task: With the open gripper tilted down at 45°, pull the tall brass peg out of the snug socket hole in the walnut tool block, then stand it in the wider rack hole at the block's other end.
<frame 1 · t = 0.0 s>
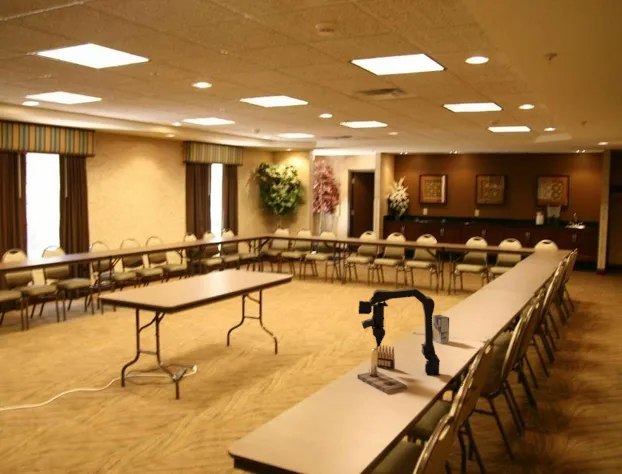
hand: (377, 344, 290), 15 cm above the table, tool pointing down, fingers open, 9 cm apart
ammunition clip: (384, 367, 299), on the table
brass peg: (373, 379, 279), resting in tool block
tool block: (381, 383, 273), on the table
coffee box: (440, 342, 350), on the table
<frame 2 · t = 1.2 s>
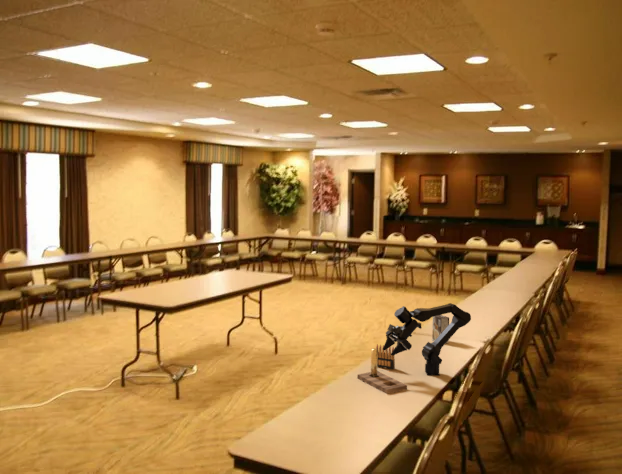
hand: (387, 352, 280), 13 cm above the table, tool tilted 45°, fingers open, 9 cm apart
nothing on the table moved.
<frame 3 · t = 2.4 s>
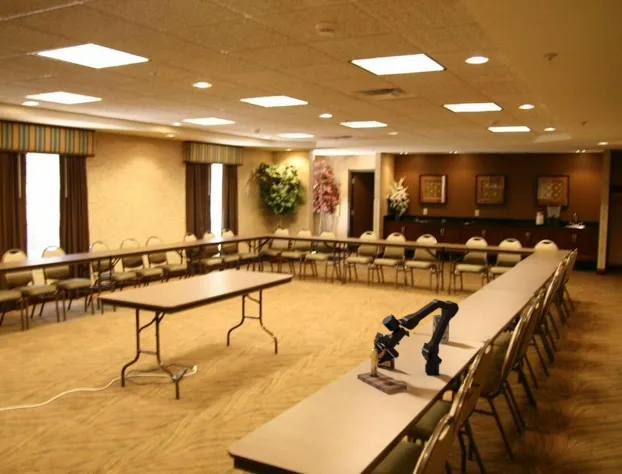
hand: (374, 360, 278), 10 cm above the table, tool tilted 45°, fingers open, 9 cm apart
nothing on the table moved.
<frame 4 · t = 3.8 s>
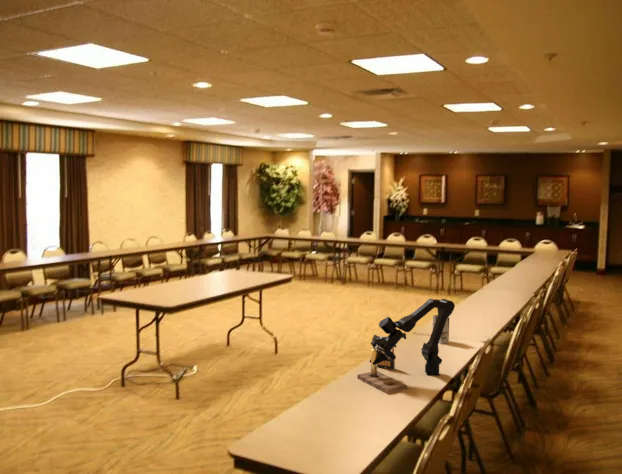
hand: (371, 363, 278), 9 cm above the table, tool tilted 45°, fingers closed on brass peg, 3 cm apart
brass peg: (373, 379, 279), resting in tool block, touching gripper
everything else where it was.
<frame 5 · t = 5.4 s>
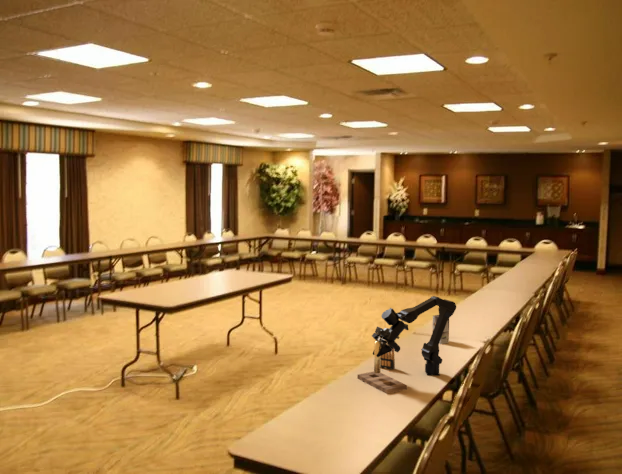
hand: (375, 355, 274), 13 cm above the table, tool tilted 45°, fingers closed on brass peg, 3 cm apart
brass peg: (377, 372, 275), point 5 cm above the table, touching gripper
everything else where it was.
when the fingers open (10 cm above the table, at t = 7.2 s): brass peg drops 1 cm, resting in tool block.
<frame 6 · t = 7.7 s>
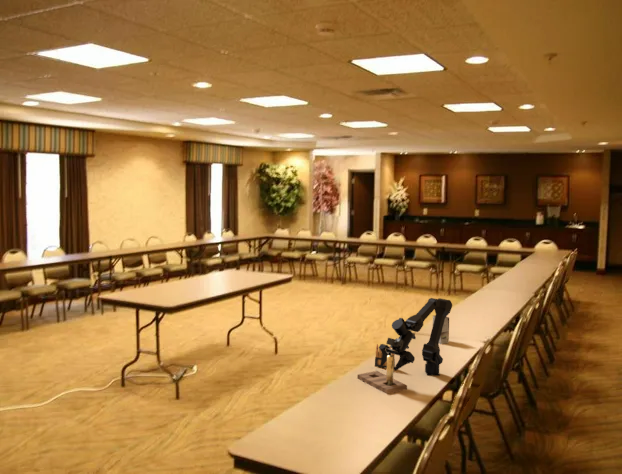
hand: (387, 367, 266), 10 cm above the table, tool tilted 45°, fingers open, 8 cm apart
brass peg: (389, 387, 268), resting in tool block
everything else where it was.
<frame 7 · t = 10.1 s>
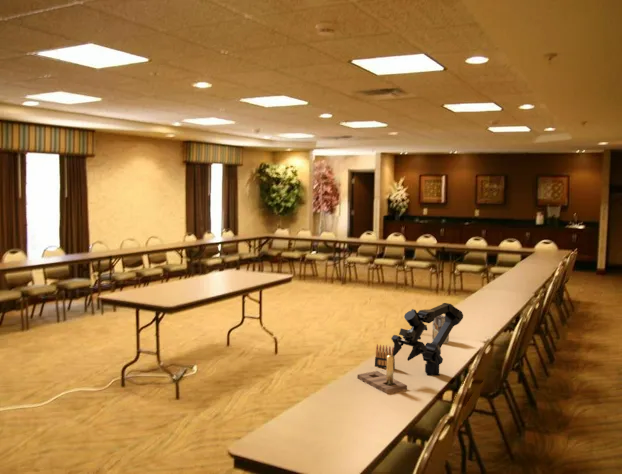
hand: (400, 357, 272), 13 cm above the table, tool tilted 45°, fingers open, 9 cm apart
nothing on the table moved.
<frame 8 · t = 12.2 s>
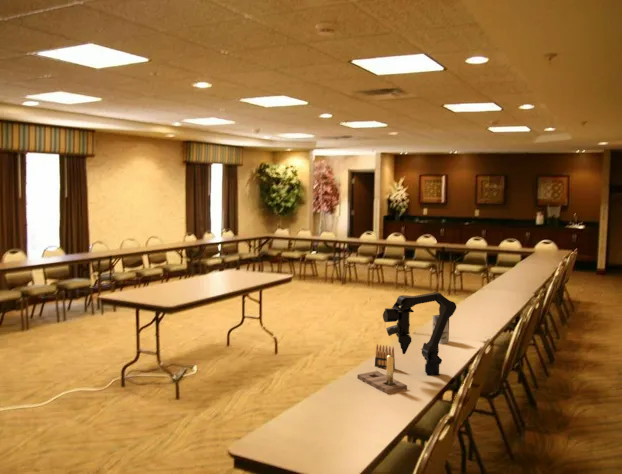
hand: (402, 351, 283), 13 cm above the table, tool pointing down, fingers open, 9 cm apart
nothing on the table moved.
at the end: brass peg 0.1 cm from the target spot, resting in tool block; brass peg tilted 0°; the gripper is holding nothing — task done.
